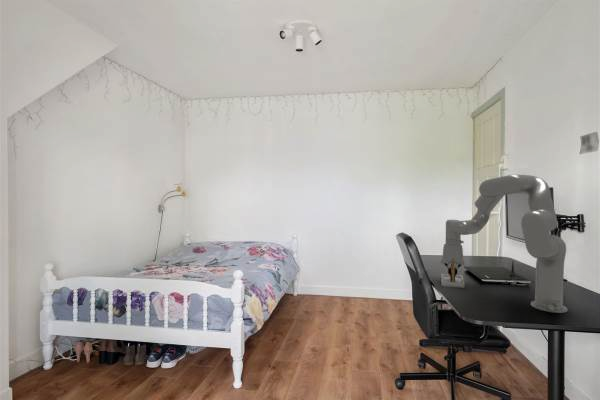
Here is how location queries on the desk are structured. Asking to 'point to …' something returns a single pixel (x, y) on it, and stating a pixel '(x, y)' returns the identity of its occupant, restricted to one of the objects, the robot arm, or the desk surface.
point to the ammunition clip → (452, 272)
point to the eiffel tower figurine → (513, 275)
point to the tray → (447, 282)
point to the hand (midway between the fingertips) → (452, 275)
